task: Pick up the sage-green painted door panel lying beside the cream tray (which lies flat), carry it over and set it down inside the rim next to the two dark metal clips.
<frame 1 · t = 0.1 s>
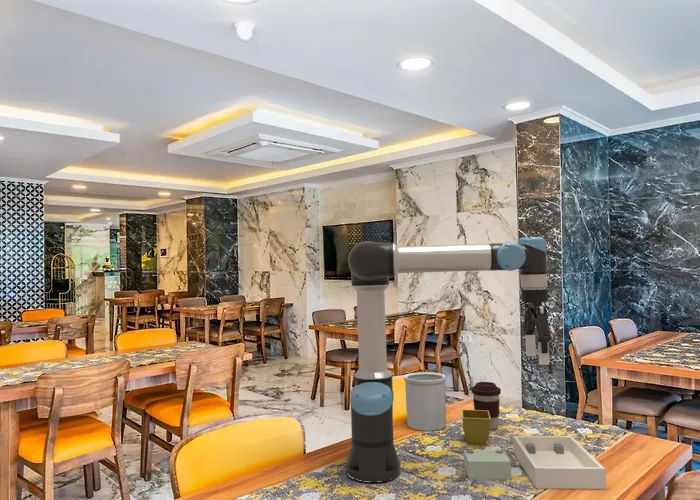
hand: (537, 360, 147), 28 cm above the table, fingers open, 13 cm apart
coffee cup: (487, 427, 173), on the table
tray: (555, 469, 136), on the table
flower pot: (476, 442, 158), on the table
utensil holder: (426, 425, 177), on the table
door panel: (487, 474, 135), on the table
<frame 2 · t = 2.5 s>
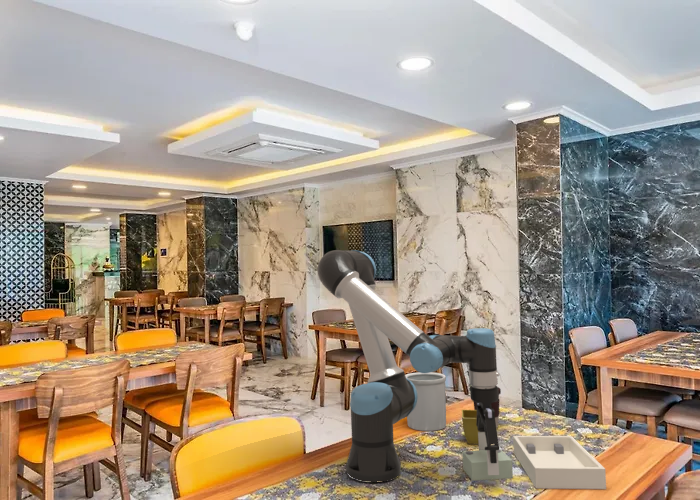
hand: (488, 464, 134), 2 cm above the table, fingers open, 13 cm apart
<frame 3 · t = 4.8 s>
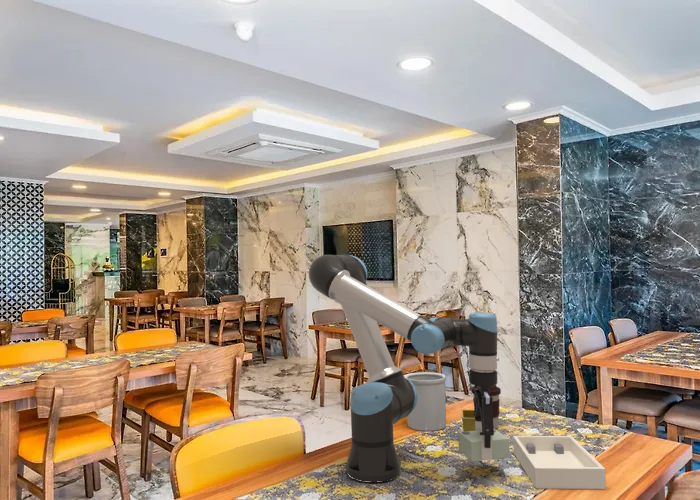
hand: (483, 451, 135), 6 cm above the table, fingers closed on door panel, 9 cm apart
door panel: (483, 453, 135), point 5 cm above the table, touching gripper
everything else where it was.
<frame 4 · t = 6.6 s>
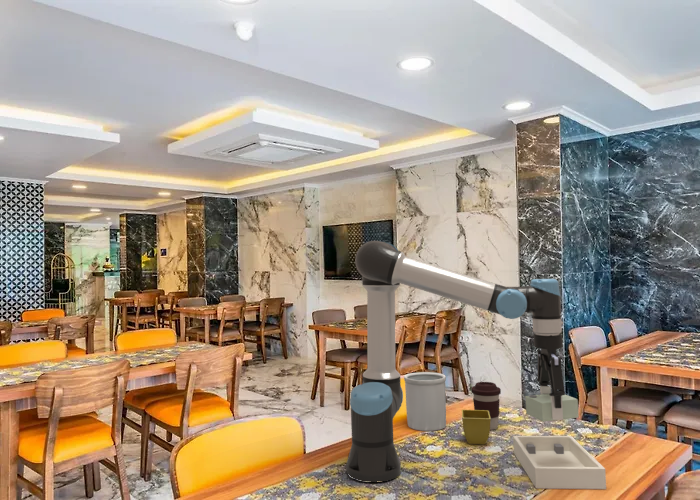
hand: (551, 413, 138), 14 cm above the table, fingers closed on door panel, 9 cm apart
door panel: (551, 415, 138), point 14 cm above the table, touching gripper
everything else where it was.
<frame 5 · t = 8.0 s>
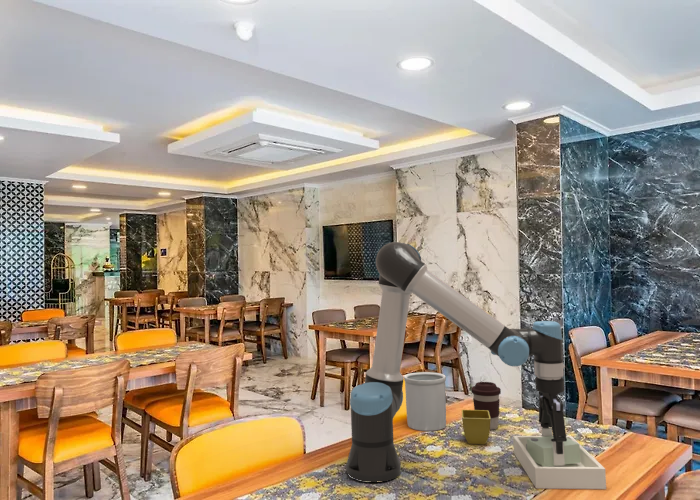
hand: (553, 457, 138), 2 cm above the table, fingers closed on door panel, 9 cm apart
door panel: (553, 459, 138), point 2 cm above the table, touching gripper
everything else where it was.
when the fingers open (2 cm above the table, at t = 8.9 s): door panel stays where it is, resting on tray.
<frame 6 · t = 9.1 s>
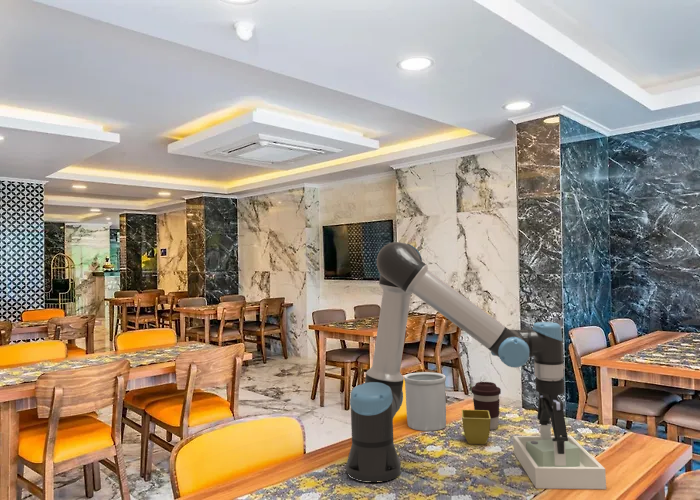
hand: (552, 456, 138), 3 cm above the table, fingers open, 12 cm apart
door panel: (553, 462, 138), point 1 cm above the table, touching tray
everything else where it was.
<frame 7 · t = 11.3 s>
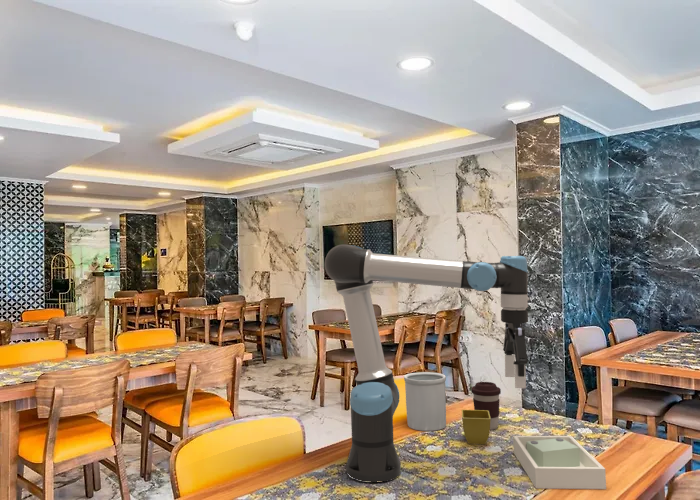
hand: (514, 382, 143), 22 cm above the table, fingers open, 13 cm apart
nothing on the table moved.
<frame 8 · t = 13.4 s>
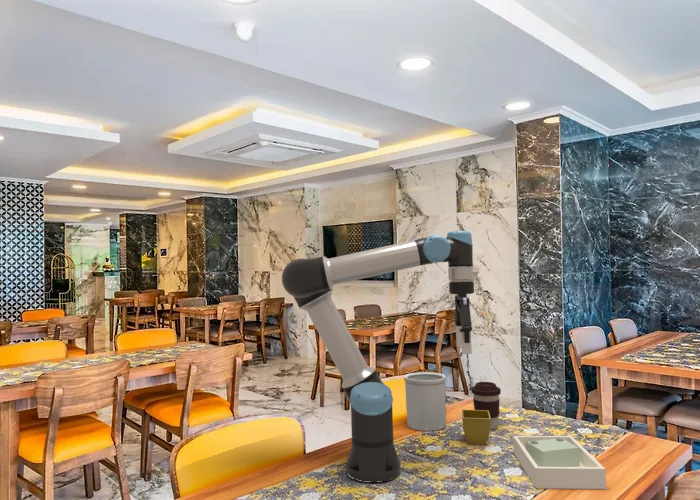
hand: (463, 350, 152), 31 cm above the table, fingers open, 13 cm apart
nothing on the table moved.
at the end: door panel inside the target area on the tray (0.0 cm from its centre), point 1.0 cm above the tray's base; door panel tilted 0°; the gripper is holding nothing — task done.
